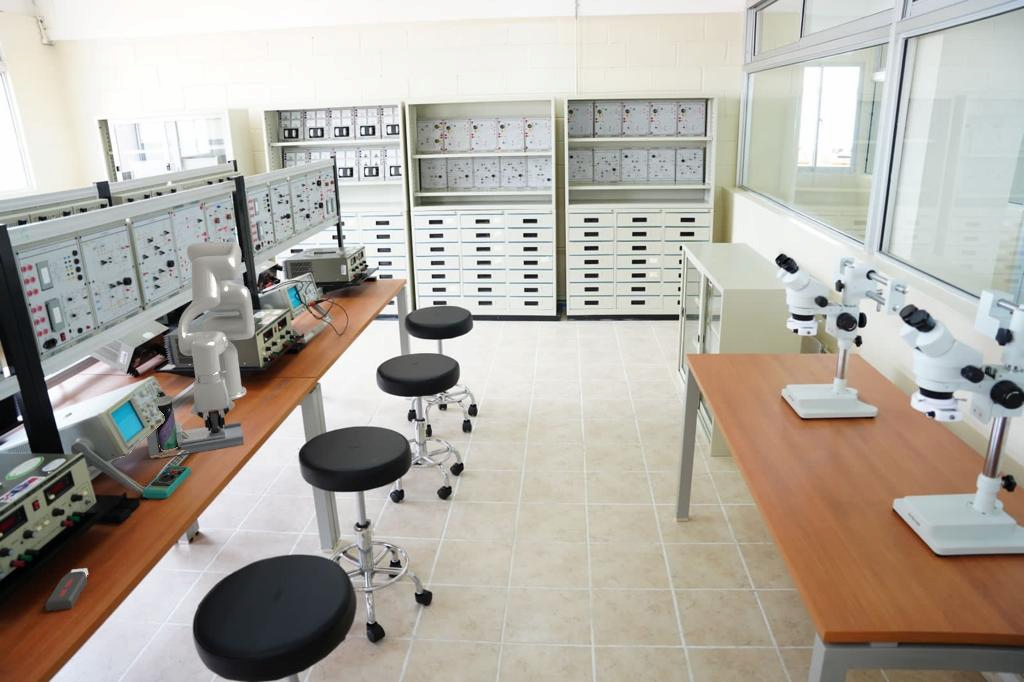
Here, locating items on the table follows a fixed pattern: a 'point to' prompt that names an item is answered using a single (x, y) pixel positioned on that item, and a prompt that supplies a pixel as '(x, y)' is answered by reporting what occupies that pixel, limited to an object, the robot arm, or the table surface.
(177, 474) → the digital multimeter
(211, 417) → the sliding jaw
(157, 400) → the spray can
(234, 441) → the vise frame
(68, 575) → the usb drive
